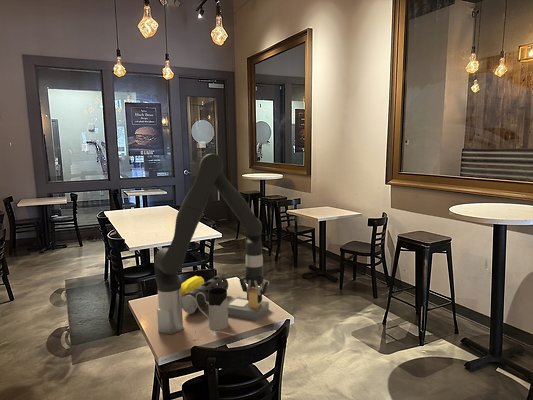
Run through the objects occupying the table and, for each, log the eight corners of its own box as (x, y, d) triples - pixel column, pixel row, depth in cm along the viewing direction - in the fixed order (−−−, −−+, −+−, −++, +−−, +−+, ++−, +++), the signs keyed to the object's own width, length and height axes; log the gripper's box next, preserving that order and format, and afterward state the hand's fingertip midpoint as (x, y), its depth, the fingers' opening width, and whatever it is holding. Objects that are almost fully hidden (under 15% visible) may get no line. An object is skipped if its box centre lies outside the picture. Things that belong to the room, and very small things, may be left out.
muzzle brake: (229, 295, 190) (228, 275, 189) (198, 318, 165) (197, 295, 163) (212, 293, 194) (212, 273, 192) (179, 315, 168) (178, 292, 167)
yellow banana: (175, 296, 190) (188, 298, 187) (175, 283, 189) (188, 285, 186) (195, 284, 206) (208, 286, 203) (195, 272, 205) (207, 274, 202)
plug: (257, 315, 165) (256, 291, 164) (248, 314, 167) (248, 290, 165) (260, 311, 169) (260, 288, 168) (252, 310, 170) (252, 286, 169)
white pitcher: (225, 331, 152) (224, 296, 150) (192, 328, 156) (190, 293, 154) (232, 322, 161) (231, 288, 159) (200, 319, 164) (199, 285, 162)
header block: (257, 321, 161) (257, 312, 160) (224, 315, 167) (224, 306, 167) (268, 310, 172) (268, 301, 171) (237, 305, 178) (237, 296, 178)
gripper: (235, 264, 164) (236, 302, 166) (266, 268, 159) (266, 307, 161) (242, 259, 171) (243, 296, 173) (272, 263, 166) (272, 300, 168)
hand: (254, 301), depth 167 cm, fingers closed on plug, 4 cm apart
